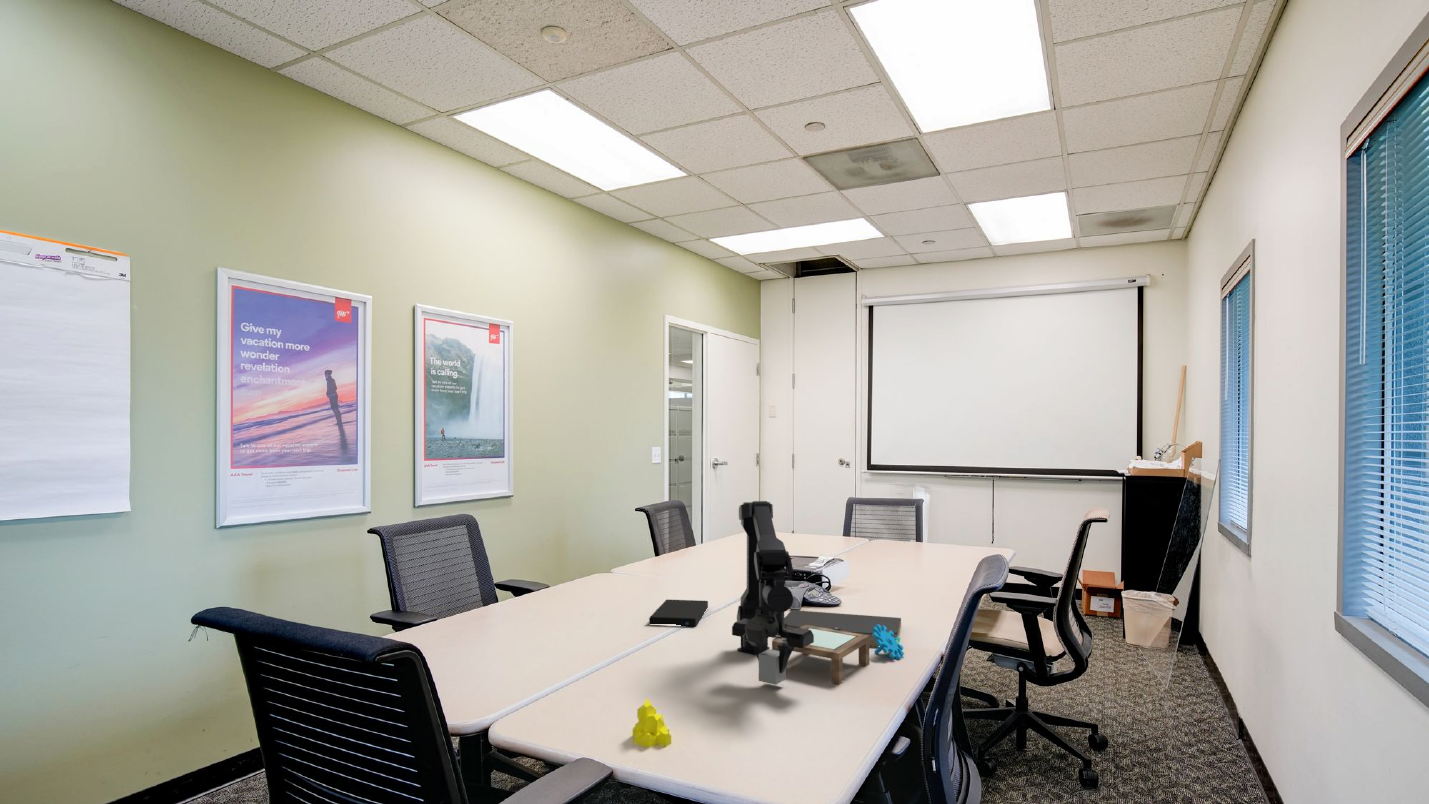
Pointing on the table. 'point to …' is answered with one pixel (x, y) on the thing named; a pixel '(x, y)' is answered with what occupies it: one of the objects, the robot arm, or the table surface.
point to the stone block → (770, 667)
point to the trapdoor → (829, 639)
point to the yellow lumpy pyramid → (650, 727)
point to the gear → (887, 642)
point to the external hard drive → (679, 612)
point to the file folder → (843, 622)
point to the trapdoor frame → (835, 651)
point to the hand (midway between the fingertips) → (772, 670)
